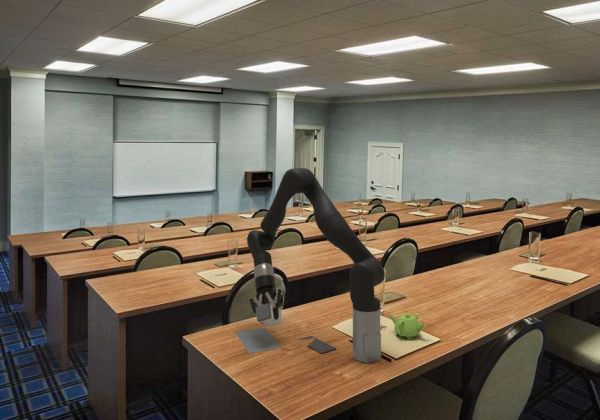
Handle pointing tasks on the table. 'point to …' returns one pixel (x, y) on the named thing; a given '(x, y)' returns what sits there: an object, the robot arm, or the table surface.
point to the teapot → (407, 325)
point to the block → (268, 315)
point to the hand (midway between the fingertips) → (269, 321)
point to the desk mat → (257, 340)
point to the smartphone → (319, 345)
